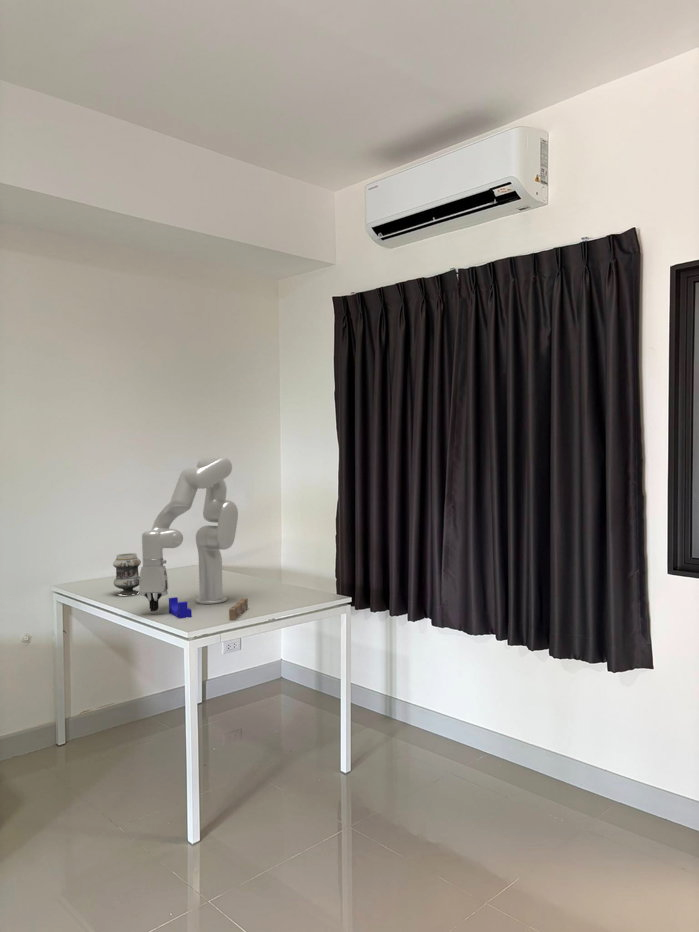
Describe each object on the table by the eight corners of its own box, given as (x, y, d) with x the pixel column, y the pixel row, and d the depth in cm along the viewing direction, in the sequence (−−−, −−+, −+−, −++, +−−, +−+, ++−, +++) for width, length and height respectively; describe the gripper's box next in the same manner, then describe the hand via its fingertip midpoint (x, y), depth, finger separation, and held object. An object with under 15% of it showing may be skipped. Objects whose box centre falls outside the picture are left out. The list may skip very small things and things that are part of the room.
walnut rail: (242, 608, 276) (242, 598, 276) (247, 608, 276) (247, 598, 276) (229, 620, 256) (229, 609, 256) (234, 620, 256) (234, 609, 256)
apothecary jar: (129, 590, 320) (128, 551, 320) (147, 593, 313) (146, 553, 313) (107, 595, 310) (106, 555, 309) (126, 598, 303) (125, 556, 303)
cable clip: (191, 617, 263) (191, 601, 263) (180, 619, 261) (179, 603, 261) (180, 611, 273) (180, 596, 273) (169, 613, 271) (168, 598, 271)
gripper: (175, 561, 272) (176, 608, 272) (138, 561, 273) (139, 608, 274) (168, 564, 264) (169, 612, 265) (130, 564, 266) (131, 612, 266)
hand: (154, 610), depth 269 cm, fingers closed
